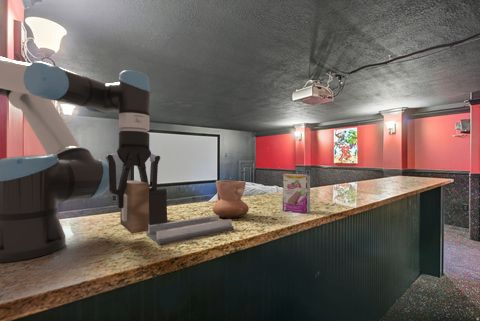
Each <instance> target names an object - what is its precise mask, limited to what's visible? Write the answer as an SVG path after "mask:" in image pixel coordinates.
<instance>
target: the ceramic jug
mask: <svg viewBox="0 0 480 321" xmlns="http://www.w3.org/2000/svg"><path fill="white" fill-rule="evenodd" d="M246 184H247V183H246V181H245V180H244V181H241V180H230V179H229V180H226V179H225V180H224V179H223V180H216V181H215V185H216V190H217V193H216V195H217V196H216V197H217V202H216V203H214V204H213V206H212V212H213V213H214V214H215V215H219V218H220V217H221V218H226V219H233V218H234V219H235V218H236V219H237V218H240V217H243V216H245V215H247V213H249V205H248V204H247V203H246V202H244V201H243V200H242V197H243V194H244V193H245V188H246Z"/></svg>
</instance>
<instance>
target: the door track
mask: <svg viewBox="0 0 480 321" xmlns="http://www.w3.org/2000/svg"><path fill="white" fill-rule="evenodd" d="M234 229H235V228H234V225H233V220H232V218H226V219H220V216H219V215H216V214H215V215H208V216H202V217H195V218H188V219H181V220H175V221H170V222H168V221H167V223H161V224H155V225H149V231H146V236H147V237H148V238H150V239H151V240H152V241H153V242H155V243H156V244H157V245H159V246H161V245H165V244H166V245H167V244H171V243H176V242H177V243H178V242H180V241H182V242H183V241H185V240H191V239H195V238H196V239H197V238H200V237H201V238H202V237H205V236H209V235H210V236H211V235H215V234H220V233H224V232H228V231H234Z"/></svg>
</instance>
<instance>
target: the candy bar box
mask: <svg viewBox="0 0 480 321" xmlns="http://www.w3.org/2000/svg"><path fill="white" fill-rule="evenodd" d="M283 210H285V211H284V212H289V211H292V212H291V213H296V212H301V213H300V214H305V213H307V214H309V213H310V212H311V174H297V173H296V174H294V173H285V174H282V211H283ZM309 211H310V212H309ZM308 212H309V213H308Z"/></svg>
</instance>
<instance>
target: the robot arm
mask: <svg viewBox="0 0 480 321" xmlns="http://www.w3.org/2000/svg"><path fill="white" fill-rule="evenodd" d="M150 84H151V83H150V78H149V76H148V75H147V74H145V73H143V72H141V71H138V70H137V71H136V70H129V69H126V70H122V71H121V72H120V73H119V77H118V82H111V83H106V82H102V81H99V80H96V79H93V78H92V77H87V76H85V75H81V74H78V73H76V72H72V71H70V70H67V69H65V68H62V67H59V66H58V65H56V64H51V63H48V62H45V61H33V62H32V63H30V62H29V63H28V62H22V61H17V60H12V59H9V58H6V57H3V56H0V96H4V97H6V98H7V100H8V101H9V103H10V104H11V106H12V107H14V108H16V109H19V110H20V111H21V112H22V114H23V116H24V118H25V119H26V121H27V122H28V124H29V126H30V128H31V130H32V131H33V133H34V135H35V137H36V138H37V140H38V141H39V143H40V145H41V146H42V148H43V150H44V152H45V154H34V155H32V154H30V155H21V156H12V157H11V156H10V157H9V156H8V157H4V158H1V159H0V263H11V262H18V261H25V260H30V259H34V258H38V257H39V258H40V257H43V256H46V255H50V254H52V253H55V252H57V251H59V250H61V249H62V248H64V247H65V246H66V234H65V231H64V229H63V226H62V223H61V221H60V218H59V216H58V204H59V203H67V202H72V201H79V200H80V201H81V200H89V199H92V198H96V197H100V196H102V195H103V194H105V193H106V191H107V190H108V188H109V193H110V194H113V195H116V197H117V202H116V204H117V205H116V206H117V208H118V209H121V208H122V220H123V221H127V196H126V195H124V193H125V188H126V184H127V181H128V179H129V175H130V174H129V173H130V170H131V167H137V170H138V173H139V178H140V182H145V183H149V204H150V193H151V192H153V191H156V190H157V189H158V171H159V170H158V168H159V162H160V160H161V156H160V155H156V154H154V153H152V151H151V150H150V133H149V131H150V102H151V86H150ZM53 101H57V102H60V103H65V104H70V105H75V106H79V107H83V108H85V109H87V110H88V111H89V112H92V113H101V114H103V113H108V112H109V113H110V112H111V113H112V112H118V129H119V130H120V131H119V132H118V149H117V150H116V152H114V153H111V154H107V155H106V156H105V159H106V161H107V162H106V161H105V160H102V159H95V158H94V156H93V155H92V152H91V151H90V150H89V149H88V148H86V147H82V146H80V143H78V141H77V139H76V137H75V136H74V134H73V133H72V131H71V130H70V128H69V127H68V125H67V122H65V120H64V118H63V117H62V116H61V113H60V112H59V111H58V109H57V108H56V106H55V104H54V103H53ZM118 158H119V159H120V161H121V162H122V169H121V174H120V177H119V178H120V179H119V183H118V187H117V166H116V162H117V161H118ZM148 159H149V162H150V172H149V179H148V174H147V165H146V163H147V161H148Z"/></svg>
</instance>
